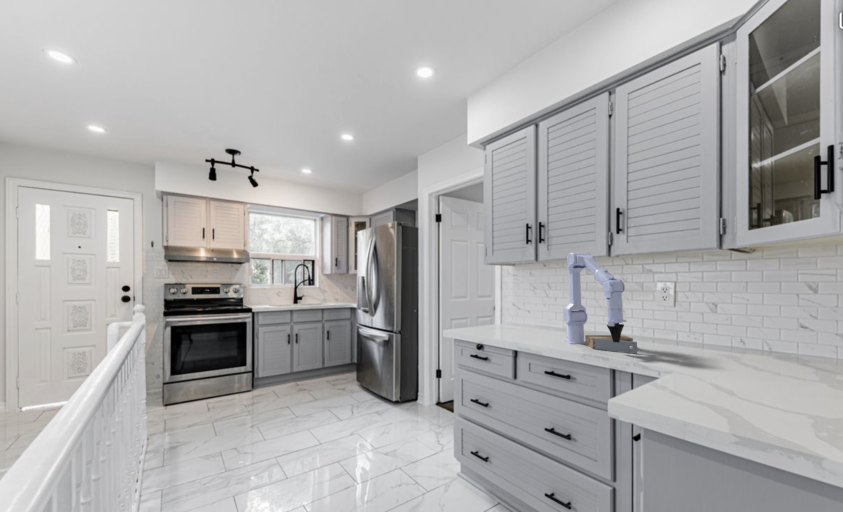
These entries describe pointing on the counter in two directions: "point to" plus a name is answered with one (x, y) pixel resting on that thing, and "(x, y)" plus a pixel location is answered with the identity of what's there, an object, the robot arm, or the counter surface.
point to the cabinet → (590, 338)
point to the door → (615, 345)
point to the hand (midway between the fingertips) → (616, 342)
